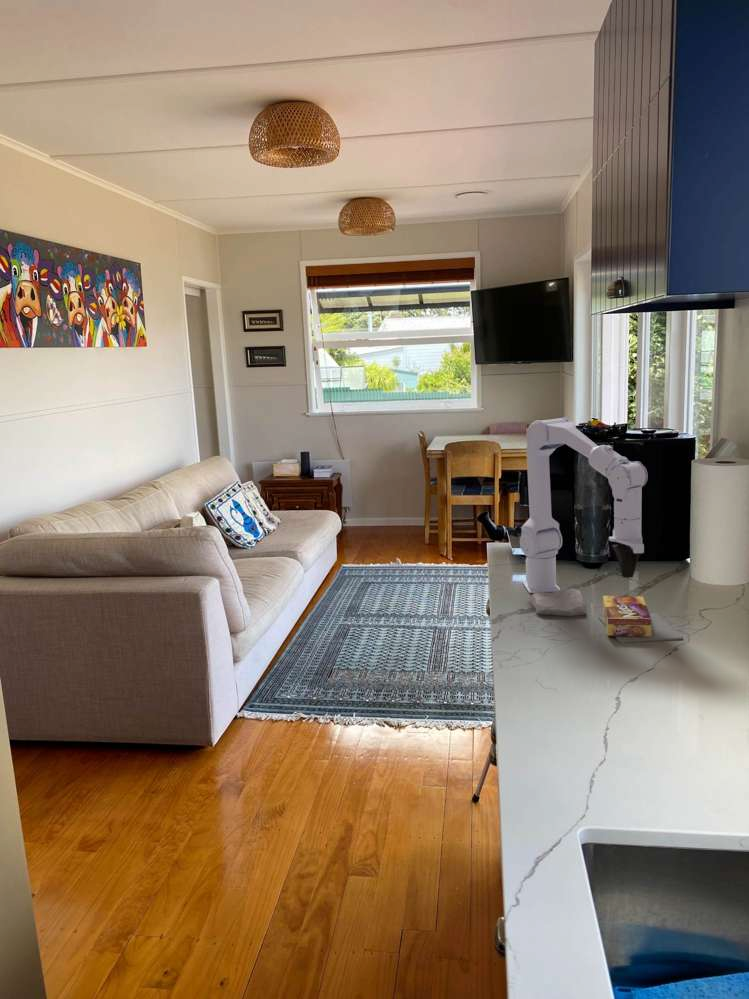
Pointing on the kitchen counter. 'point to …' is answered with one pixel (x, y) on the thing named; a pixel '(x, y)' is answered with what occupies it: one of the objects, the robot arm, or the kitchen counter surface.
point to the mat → (652, 631)
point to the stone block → (559, 603)
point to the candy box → (626, 616)
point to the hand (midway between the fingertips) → (627, 576)
